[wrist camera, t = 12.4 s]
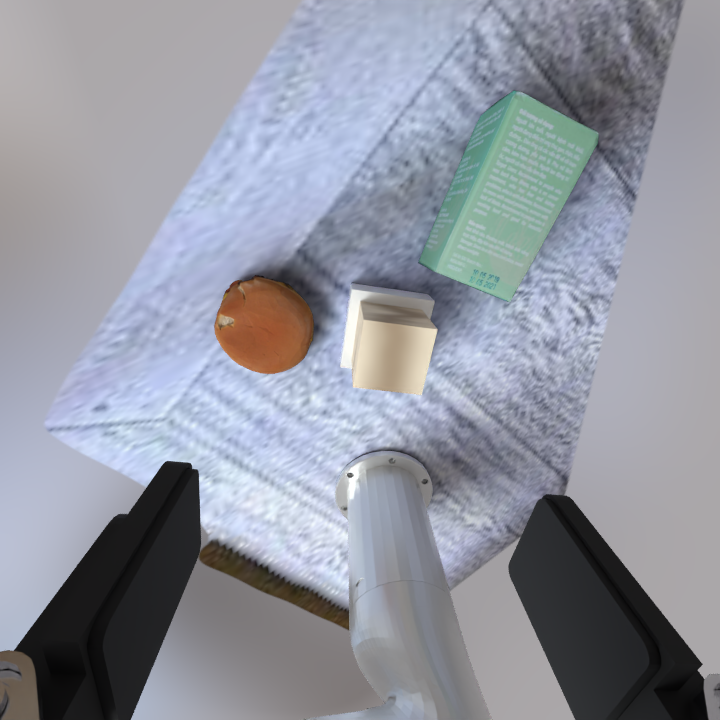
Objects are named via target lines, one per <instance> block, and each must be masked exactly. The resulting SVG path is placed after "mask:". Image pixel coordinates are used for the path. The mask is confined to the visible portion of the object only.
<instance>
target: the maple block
mask: <svg viewBox="0 0 720 720" xmlns="http://www.w3.org/2000/svg"><path fill="white" fill-rule="evenodd" d="M437 330H438V329H437V328H436V327H435V326H434V324H433V323H432V322H431V320H430V319H429V318H428V317H427V315H426V314H425V313H424V312H423V310H420V309H413V308H406V307H398V306H391V305H384V304H376V303H369V302H362V301H360V306H359V312H358V319H357V325H356V332H355V339H354V345H353V352H352V358H351V362H352V379H353V387H355V388H364V389H373V390H382V391H391V392H400V393H409V394H418V395H422V391H423V387H424V383H425V379H426V375H427V371H428V367H429V362H430V358H431V354H432V350H433V346H434V342H435V338H436V334H437Z"/></svg>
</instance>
